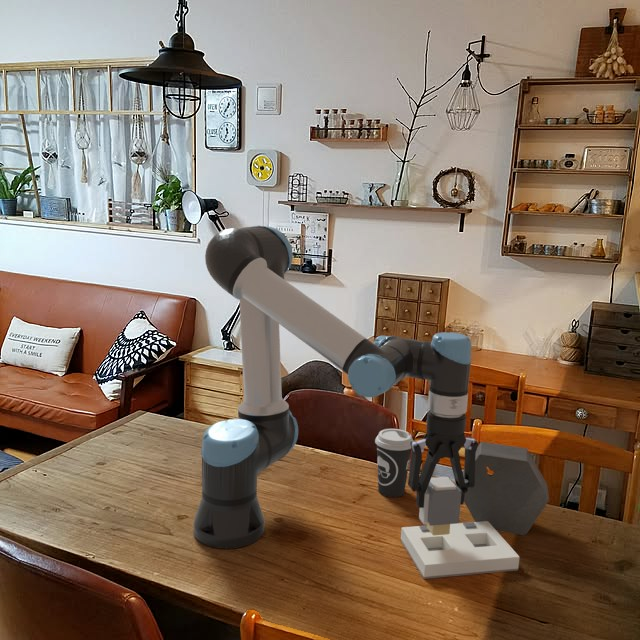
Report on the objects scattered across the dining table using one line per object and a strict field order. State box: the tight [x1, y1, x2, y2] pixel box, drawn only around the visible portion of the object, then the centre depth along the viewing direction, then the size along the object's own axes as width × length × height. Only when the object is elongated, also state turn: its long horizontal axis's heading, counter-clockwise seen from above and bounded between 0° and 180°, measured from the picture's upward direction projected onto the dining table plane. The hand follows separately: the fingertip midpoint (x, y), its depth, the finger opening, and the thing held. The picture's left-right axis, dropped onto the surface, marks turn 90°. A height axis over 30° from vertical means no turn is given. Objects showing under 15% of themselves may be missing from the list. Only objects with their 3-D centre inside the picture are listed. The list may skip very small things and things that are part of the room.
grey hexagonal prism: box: [462, 441, 550, 536], centre depth 145 cm, size 17×8×21 cm
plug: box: [426, 476, 461, 536], centre depth 130 cm, size 6×6×11 cm
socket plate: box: [400, 521, 520, 580], centre depth 133 cm, size 20×14×3 cm
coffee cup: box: [374, 428, 414, 498], centre depth 159 cm, size 10×10×15 cm
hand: (438, 519), depth 131 cm, fingers closed on plug, 6 cm apart
